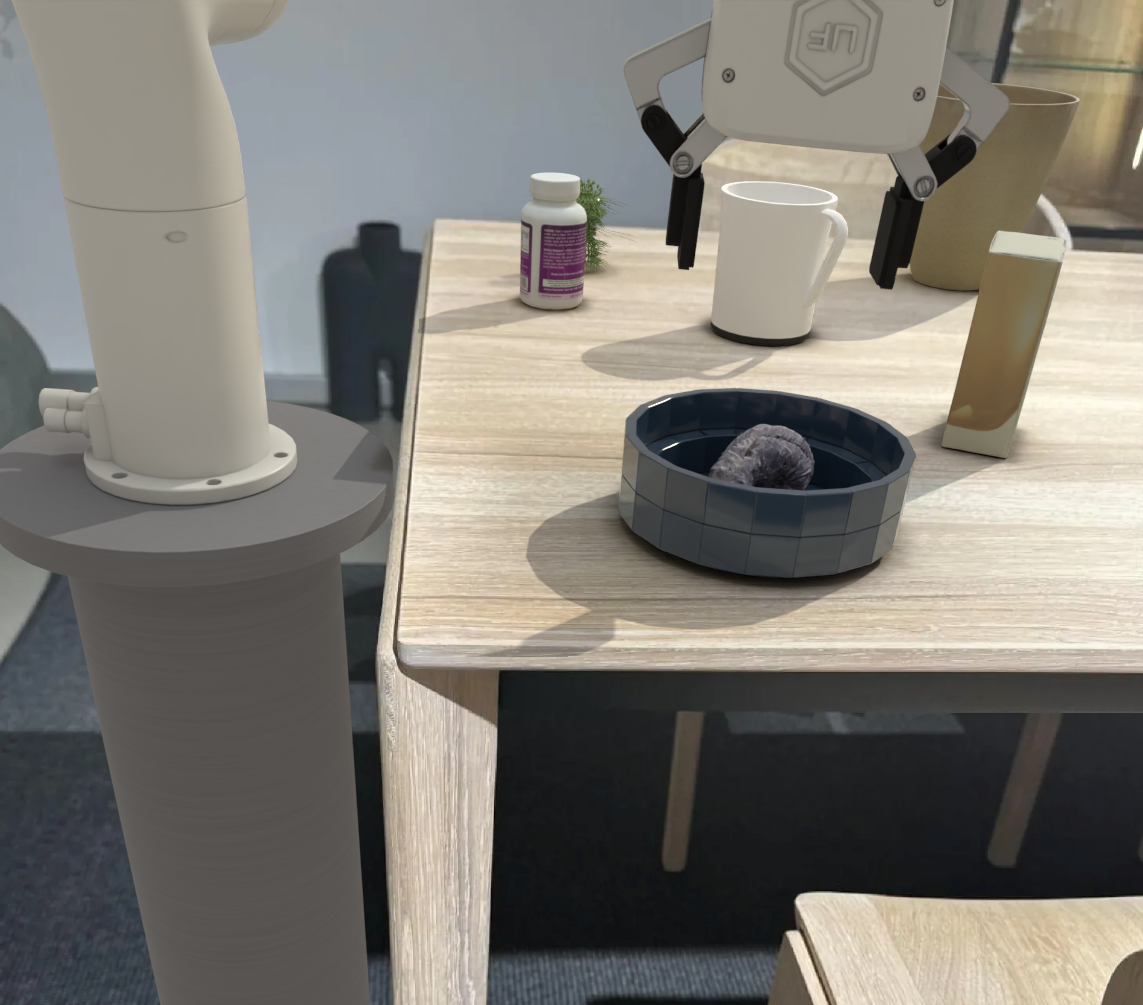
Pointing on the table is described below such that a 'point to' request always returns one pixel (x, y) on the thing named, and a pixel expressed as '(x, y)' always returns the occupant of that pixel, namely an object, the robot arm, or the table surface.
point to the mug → (773, 260)
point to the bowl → (763, 515)
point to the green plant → (593, 220)
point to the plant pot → (988, 184)
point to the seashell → (766, 459)
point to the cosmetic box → (1003, 341)
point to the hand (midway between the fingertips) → (782, 272)
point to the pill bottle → (553, 243)
